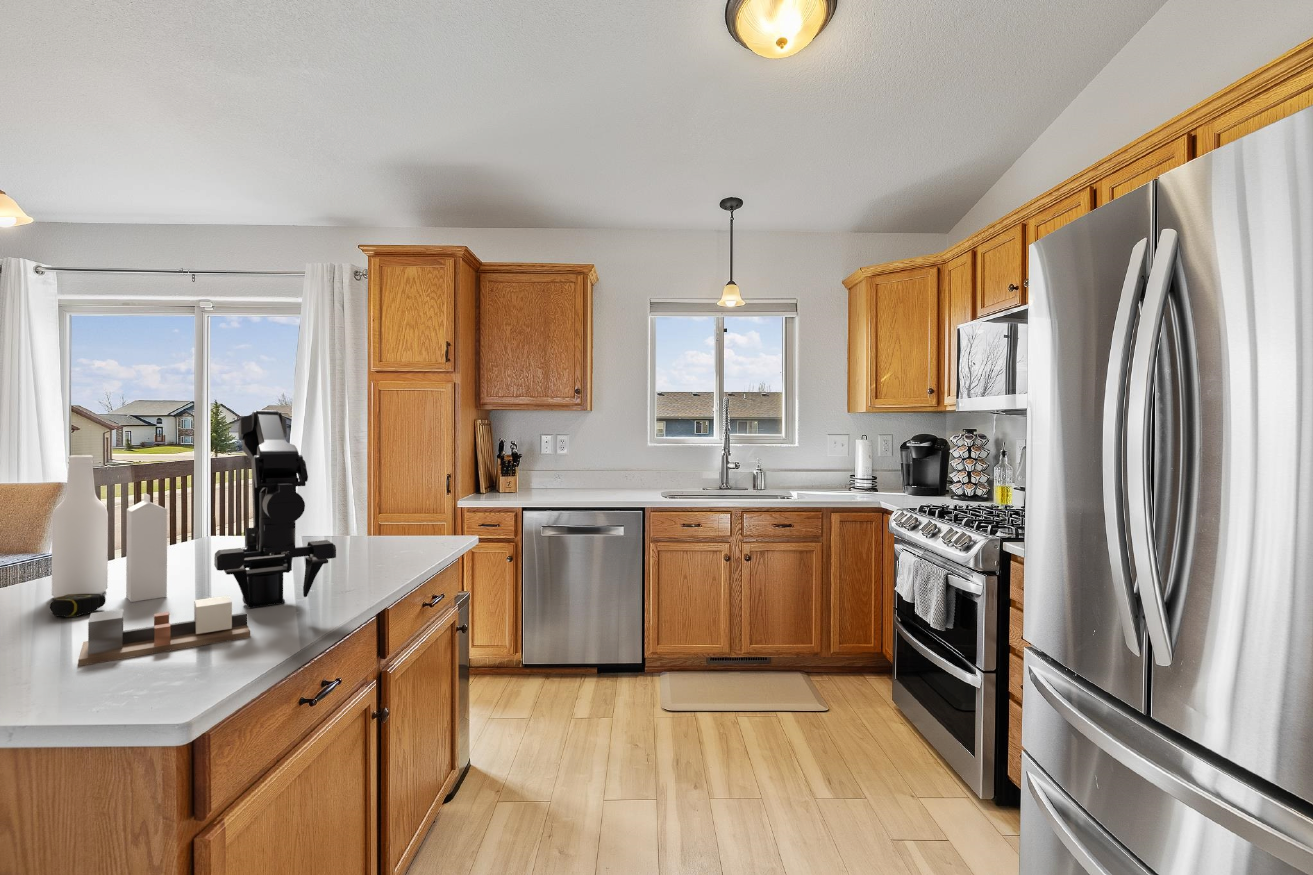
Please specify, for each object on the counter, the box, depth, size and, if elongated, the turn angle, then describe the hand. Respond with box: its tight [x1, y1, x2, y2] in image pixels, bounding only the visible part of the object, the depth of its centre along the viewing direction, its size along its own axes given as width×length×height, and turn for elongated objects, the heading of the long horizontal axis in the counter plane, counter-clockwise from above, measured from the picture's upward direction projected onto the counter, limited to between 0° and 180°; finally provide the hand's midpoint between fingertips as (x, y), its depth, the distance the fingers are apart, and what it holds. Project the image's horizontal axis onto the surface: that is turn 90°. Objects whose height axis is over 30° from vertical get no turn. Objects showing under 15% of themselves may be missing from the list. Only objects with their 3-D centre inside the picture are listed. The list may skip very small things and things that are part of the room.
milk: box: [125, 493, 168, 603], centre depth 132 cm, size 6×6×22 cm
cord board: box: [77, 608, 251, 667], centre depth 105 cm, size 22×10×6 cm, turn 130°
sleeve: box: [193, 595, 233, 634], centre depth 109 cm, size 5×5×5 cm
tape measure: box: [49, 594, 106, 618], centre depth 120 cm, size 7×7×4 cm
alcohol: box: [51, 454, 109, 599], centre depth 133 cm, size 9×9×30 cm
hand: (277, 600), depth 115 cm, fingers open, 9 cm apart
